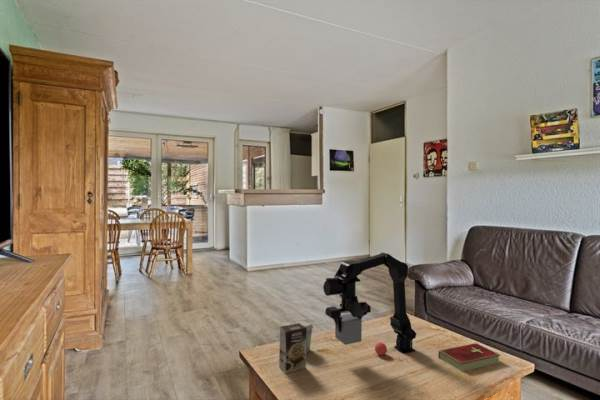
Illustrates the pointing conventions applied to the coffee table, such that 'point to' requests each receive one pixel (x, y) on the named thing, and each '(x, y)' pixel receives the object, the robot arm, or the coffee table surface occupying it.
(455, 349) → the hardcover book
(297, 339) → the coffee box
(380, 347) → the ball
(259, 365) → the coffee table surface
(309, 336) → the coffee cup
